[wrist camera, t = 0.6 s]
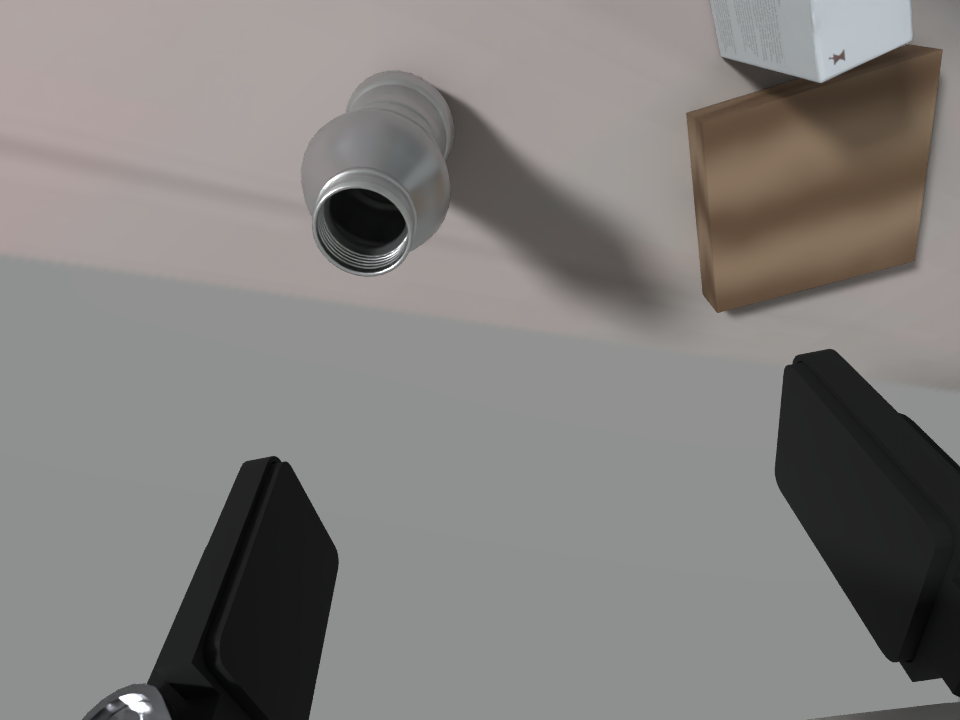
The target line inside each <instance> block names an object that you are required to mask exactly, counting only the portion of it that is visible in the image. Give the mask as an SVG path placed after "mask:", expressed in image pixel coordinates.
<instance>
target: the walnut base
mask: <svg viewBox="0 0 960 720" xmlns="http://www.w3.org/2000/svg"><path fill="white" fill-rule="evenodd" d="M942 51H943V50H942V49H936V48H929V47H922V46H916V45H906V46H903V47H900V48H896V49H893V50H891V51H889V52H887V53H885V54H883V55H880V56H878V57H876V58H874V59H872V60H870V61H868V62H865V63H863V64H861V65H859V66H857V67H855V68H853V69H850V70H848V71H846V72H844V73H842V74H840V75H838V76H836V77H834V78H831V79H829V80H827V81H825V82H823V83H817V82H814V81H810V80H806V79H803V78H799V79H796V80H793V81H789V82H786V83H783V84H780V85H776V86H773V87H770V88H767V89H763V90H760V91H757V92H754V93H750V94H747V95H744V96H741V97H737V98H734V99H731V100H728V101H724V102H721V103H718V104H715V105H711V106H708V107H705V108H702V109H698V110H695V111H692V112H689V113H687V124H688V135H689V147H690V158H691V169H692V180H693V191H694V202H695V213H696V224H697V235H698V246H699V257H700V268H701V279H702V290H703V295H704V297H705V298H706V299H707V300H708V302H709V303H710V304H711V306H712V307H713V308H714V309H715V311H716V312H717V313H719V312H723V311H726V310H730V309H734V308H738V307H742V306H745V305H749V304H753V303H757V302H761V301H764V300H768V299H772V298H776V297H780V296H783V295H787V294H791V293H795V292H799V291H802V290H806V289H810V288H814V287H818V286H821V285H825V284H829V283H833V282H836V281H840V280H844V279H848V278H852V277H855V276H859V275H863V274H867V273H871V272H874V271H878V270H882V269H886V268H890V267H893V266H897V265H901V264H905V263H909V262H912V261H915V255H916V247H917V240H918V232H919V224H920V217H921V209H922V202H923V194H924V187H925V179H926V172H927V164H928V157H929V149H930V141H931V134H932V126H933V119H934V111H935V104H936V96H937V89H938V81H939V74H940V66H941V58H942Z"/></svg>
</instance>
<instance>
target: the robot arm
mask: <svg viewBox="0 0 960 720" xmlns="http://www.w3.org/2000/svg"><path fill="white" fill-rule="evenodd" d="M775 477H776V481H777V484H778V487H779V489H780V491H781V492H782V494H783V496H784V497H785V499H786V500H787V502H788V503H789V505H790V507H791V508H792V510H793V511H794V513H795V515H796V516H797V518H798V519H799V521H800V523H801V524H802V526H803V527H804V529H805V531H806V532H807V534H808V535H809V537H810V538H811V540H812V542H813V543H814V545H815V546H816V548H817V549H818V551H819V553H820V554H821V556H822V557H823V559H824V561H825V562H826V564H827V565H828V567H829V569H830V570H831V572H832V573H833V575H834V577H835V578H836V580H837V581H838V583H839V585H840V586H841V588H842V589H843V591H844V592H845V594H846V595H847V597H848V599H849V600H850V602H851V603H852V605H853V607H854V608H855V610H856V611H857V613H858V615H859V616H860V618H861V619H862V621H863V623H864V624H865V626H866V627H867V629H868V631H869V632H870V634H871V635H872V637H873V639H874V640H875V642H876V643H877V645H878V646H879V648H880V650H881V651H882V653H883V654H884V655H885V657H886V658H887V659H889V660H890V661H892V662H900V664H901V665H902V666H903V668H904V670H905V671H906V673H907V674H908V676H909V677H910V679H911V680H912V682H916V681H924V680H931V679H938V678H943V680H944V681H945V683H946V684H947V686H948V687H949V688H950V690H951V692H952V693H953V694H954V695H956V696H958V702H955V703H943V704H934V705H925V706H917V707H908V708H900V709H891V710H882V711H874V712H866V713H857V714H849V715H839V716H831V717H824V718H817V719H809V720H960V467H959V465H958V464H957V463H956V462H955V461H953V459H952V458H951V457H949V456H948V455H947V454H946V453H945V452H944V451H943V450H942V449H941V448H940V447H939V446H938V445H937V444H936V443H935V442H934V441H933V440H932V439H931V438H930V437H929V436H928V435H927V434H926V433H925V432H924V431H923V430H922V429H921V428H920V427H919V426H918V425H917V424H916V423H915V422H914V421H912V420H911V419H910V418H908V417H907V416H906V415H903V414H900V413H898V412H897V411H896V410H895V409H894V408H893V407H892V406H891V405H890V404H889V403H888V402H887V401H886V400H885V399H884V398H883V397H882V396H881V395H880V394H879V393H878V392H877V391H876V390H875V389H874V388H873V387H872V386H871V385H870V384H869V383H868V382H867V381H866V380H865V379H864V378H863V377H862V376H861V375H860V374H859V373H858V372H857V371H856V370H855V369H854V368H853V367H852V366H851V365H850V364H849V363H848V362H847V361H846V360H845V359H844V358H842V357H841V356H840V355H839V354H838V353H837V352H836V351H835V350H833V349H826V350H821V351H816V352H811V353H805V354H800V355H797V356H795V358H794V360H793V364H791V365H787V366H786V367H785V369H784V376H783V386H782V397H781V409H780V419H779V430H778V441H777V452H776V462H775ZM338 564H339V562H338V553H337V550H336V547H335V545H334V544H333V542H332V540H331V538H330V536H329V534H328V533H327V531H326V529H325V527H324V526H323V524H322V522H321V520H320V518H319V517H318V514H317V513H316V511H315V509H314V507H313V506H312V503H311V502H310V500H309V498H308V496H307V494H306V493H305V491H304V489H303V487H302V485H301V483H300V482H299V480H298V478H297V476H296V474H295V472H294V471H293V469H292V467H291V465H290V464H289V463H288V462H281V461H280V459H279V458H277V457H275V456H271V457H266V458H261V459H256V460H251V461H246V462H245V463H243V465H242V467H241V468H240V471H239V473H238V475H237V478H236V480H235V482H234V484H233V487H232V489H231V492H230V494H229V496H228V499H227V501H226V503H225V506H224V508H223V510H222V512H221V515H220V517H219V519H218V522H217V524H216V526H215V529H214V531H213V533H212V536H211V538H210V540H209V543H208V545H207V547H206V549H205V550H204V553H203V555H202V557H201V560H200V562H199V564H198V567H197V569H196V571H195V574H194V576H193V579H192V581H191V583H190V585H189V587H188V590H187V592H186V594H185V597H184V599H183V602H182V604H181V606H180V608H179V611H178V613H177V615H176V618H175V620H174V622H173V625H172V627H171V629H170V632H169V634H168V636H167V639H166V641H165V643H164V645H163V648H162V650H161V652H160V655H159V657H158V659H157V662H156V664H155V666H154V669H153V671H152V673H151V676H150V678H149V680H148V683H147V684H146V683H143V684H132V685H129V686H126V687H124V688H121V689H118V690H116V691H115V692H113V693H112V694H110V695H108V696H107V697H105V698H104V699H102V700H101V701H100V702H99V703H98V704H97V705H96V706H95V707H93V708H92V709H91V710H90V711H89V712H88V713H87V714H86V715H85V717H84V718H83V719H82V720H309V715H310V710H311V705H312V700H313V694H314V689H315V684H316V679H317V674H318V669H319V664H320V659H321V653H322V648H323V643H324V638H325V632H326V628H327V623H328V617H329V612H330V607H331V602H332V597H333V592H334V586H335V581H336V576H337V571H338Z"/></svg>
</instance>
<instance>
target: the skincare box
mask: <svg viewBox="0 0 960 720" xmlns="http://www.w3.org/2000/svg"><path fill="white" fill-rule="evenodd" d="M710 4H711V9H712V13H713V19H714V24H715V29H716V34H717V39H718V44H719V50H720V55H721V57H724V58H727V59H731V60H735V61H738V62H743V63H746V64H750V65H754V66H757V67H761V68H765V69H768V70H773V71H776V72H780V73H784V74H788V75H792V76H795V77H799V78H803V79H806V80H810V81H814V82H817V83H823V82H825V81H827V80H829V79H831V78H834V77H836V76H838V75H840V74H842V73H844V72H846V71H848V70H850V69H853V68H855V67H857V66H859V65H861V64H863V63H865V62H868V61H870V60H872V59H874V58H876V57H878V56H880V55H883V54H885V53H887V52H889V51H891V50H893V49H896V48H898V47H900V46H902V45H904V44H906V43H909V42H911V41H912V39H913V33H912V4H911V0H710Z"/></svg>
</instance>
